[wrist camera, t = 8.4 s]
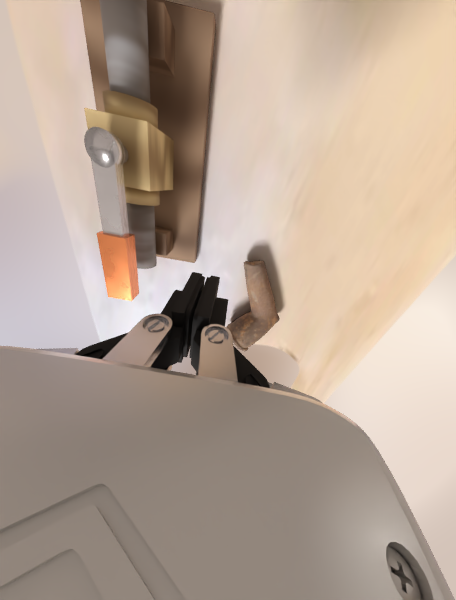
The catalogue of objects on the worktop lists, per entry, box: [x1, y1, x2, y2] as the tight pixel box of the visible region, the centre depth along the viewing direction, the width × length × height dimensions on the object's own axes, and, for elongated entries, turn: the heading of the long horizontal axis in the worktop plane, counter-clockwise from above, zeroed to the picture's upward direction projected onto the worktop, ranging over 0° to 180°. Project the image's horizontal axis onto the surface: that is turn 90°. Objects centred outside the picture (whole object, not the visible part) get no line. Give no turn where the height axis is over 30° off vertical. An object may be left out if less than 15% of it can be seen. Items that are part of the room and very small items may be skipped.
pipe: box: [227, 260, 279, 351], centre depth 33 cm, size 6×17×10 cm
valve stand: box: [80, 0, 216, 269], centre depth 19 cm, size 24×12×10 cm, turn 170°
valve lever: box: [84, 127, 139, 301], centre depth 18 cm, size 3×15×2 cm, turn 169°
